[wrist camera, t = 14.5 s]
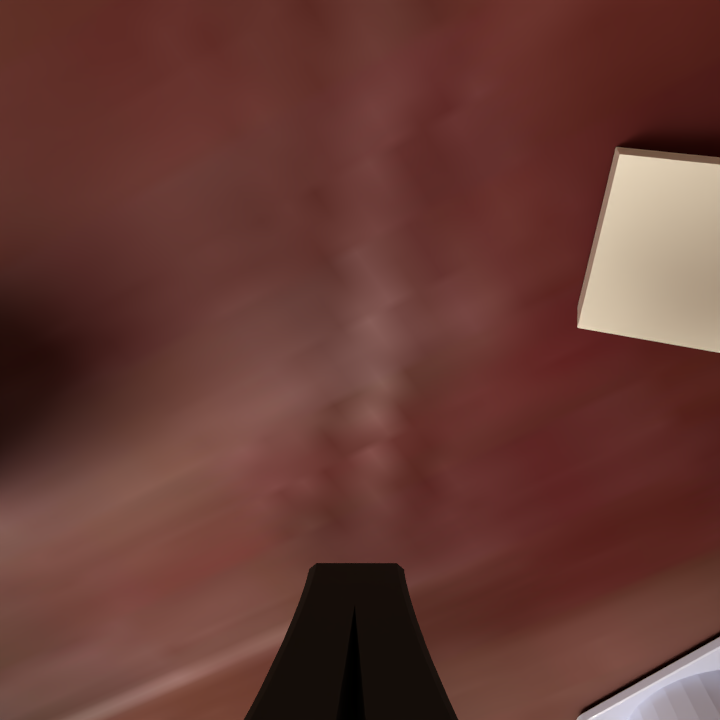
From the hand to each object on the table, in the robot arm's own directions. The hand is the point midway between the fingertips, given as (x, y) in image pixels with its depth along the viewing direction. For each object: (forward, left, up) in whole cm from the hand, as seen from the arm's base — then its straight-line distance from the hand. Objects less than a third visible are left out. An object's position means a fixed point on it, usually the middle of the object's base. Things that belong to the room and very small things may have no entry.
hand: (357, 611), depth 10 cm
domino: (-2, -7, -9) cm, 11 cm away
